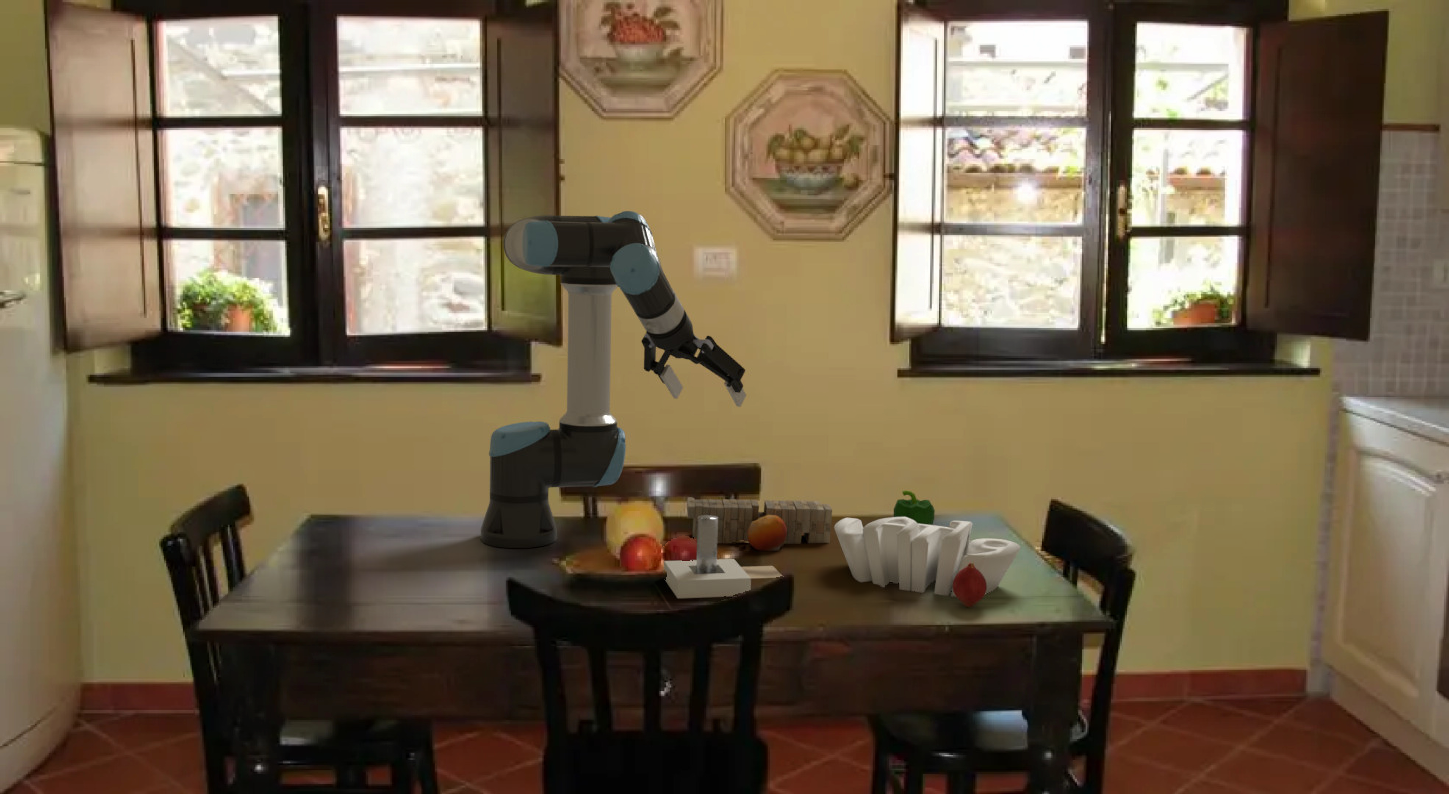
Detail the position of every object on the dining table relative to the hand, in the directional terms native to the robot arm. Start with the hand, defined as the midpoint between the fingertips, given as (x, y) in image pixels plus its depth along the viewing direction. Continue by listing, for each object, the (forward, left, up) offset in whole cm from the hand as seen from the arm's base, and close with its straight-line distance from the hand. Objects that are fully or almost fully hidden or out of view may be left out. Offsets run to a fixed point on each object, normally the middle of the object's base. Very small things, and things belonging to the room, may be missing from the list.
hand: (709, 396), depth 251 cm
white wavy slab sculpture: (+8, +39, -34) cm, 52 cm away
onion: (+25, +41, -34) cm, 59 cm away
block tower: (-26, +17, -34) cm, 46 cm away
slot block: (+8, -2, -33) cm, 34 cm away
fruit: (-18, +16, -34) cm, 41 cm away
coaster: (0, +10, -33) cm, 35 cm away
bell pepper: (-23, +49, -34) cm, 64 cm away
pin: (+8, -2, -33) cm, 34 cm away
